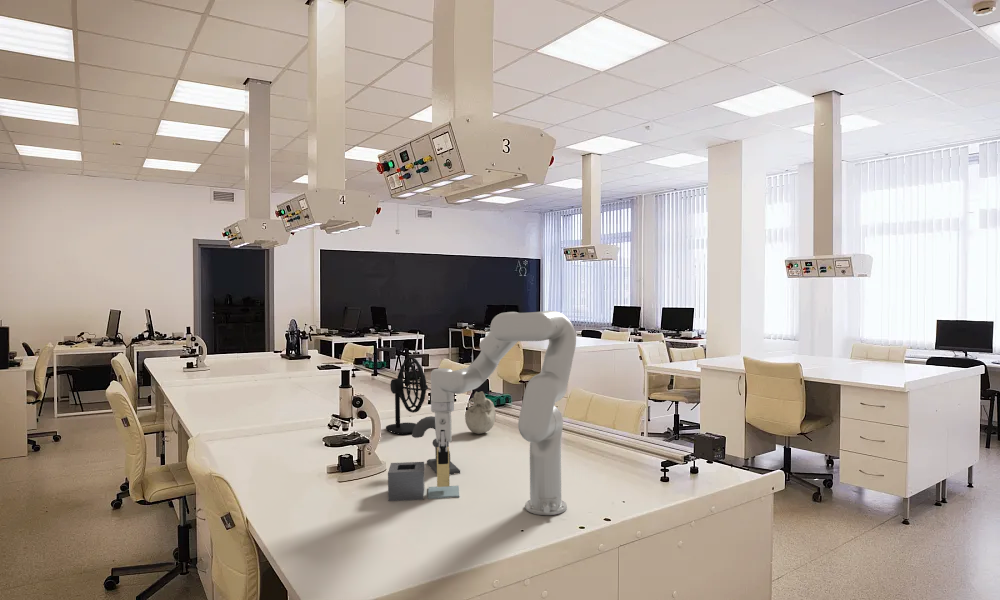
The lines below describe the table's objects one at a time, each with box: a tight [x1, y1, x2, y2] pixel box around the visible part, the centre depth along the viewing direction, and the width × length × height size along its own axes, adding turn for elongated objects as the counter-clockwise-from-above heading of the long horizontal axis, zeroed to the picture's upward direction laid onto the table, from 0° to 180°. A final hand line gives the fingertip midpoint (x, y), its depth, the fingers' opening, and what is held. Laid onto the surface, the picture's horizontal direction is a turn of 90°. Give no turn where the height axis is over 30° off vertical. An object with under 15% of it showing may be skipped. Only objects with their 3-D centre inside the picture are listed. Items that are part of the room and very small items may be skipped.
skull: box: [464, 391, 496, 435], centre depth 280 cm, size 13×15×20 cm
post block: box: [387, 461, 425, 502], centre depth 196 cm, size 11×11×9 cm
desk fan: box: [385, 356, 429, 435], centre depth 288 cm, size 27×18×35 cm, turn 32°
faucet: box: [411, 415, 461, 475], centre depth 223 cm, size 18×16×20 cm
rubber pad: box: [427, 485, 460, 500], centre depth 197 cm, size 10×10×1 cm
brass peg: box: [436, 446, 451, 487], centre depth 197 cm, size 4×4×12 cm
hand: (443, 461), depth 197 cm, fingers closed on brass peg, 4 cm apart
